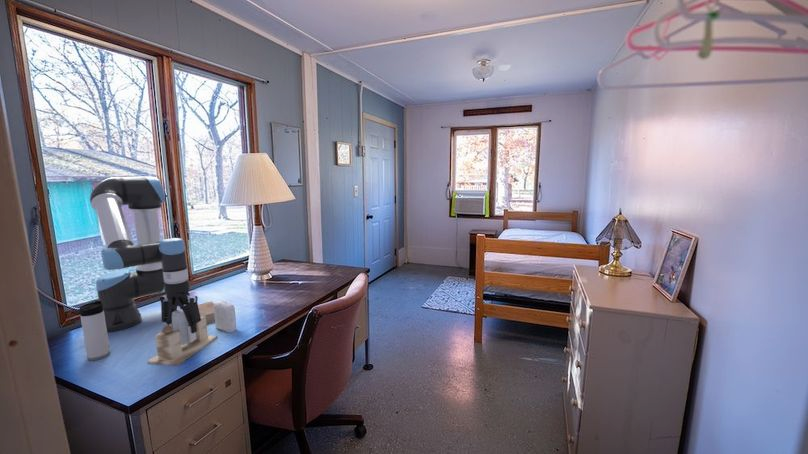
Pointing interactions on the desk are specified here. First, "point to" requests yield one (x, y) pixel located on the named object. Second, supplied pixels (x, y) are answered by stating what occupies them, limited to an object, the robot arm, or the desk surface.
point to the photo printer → (225, 316)
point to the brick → (207, 311)
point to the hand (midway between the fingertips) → (183, 339)
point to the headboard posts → (179, 344)
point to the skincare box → (180, 325)
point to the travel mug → (94, 330)
